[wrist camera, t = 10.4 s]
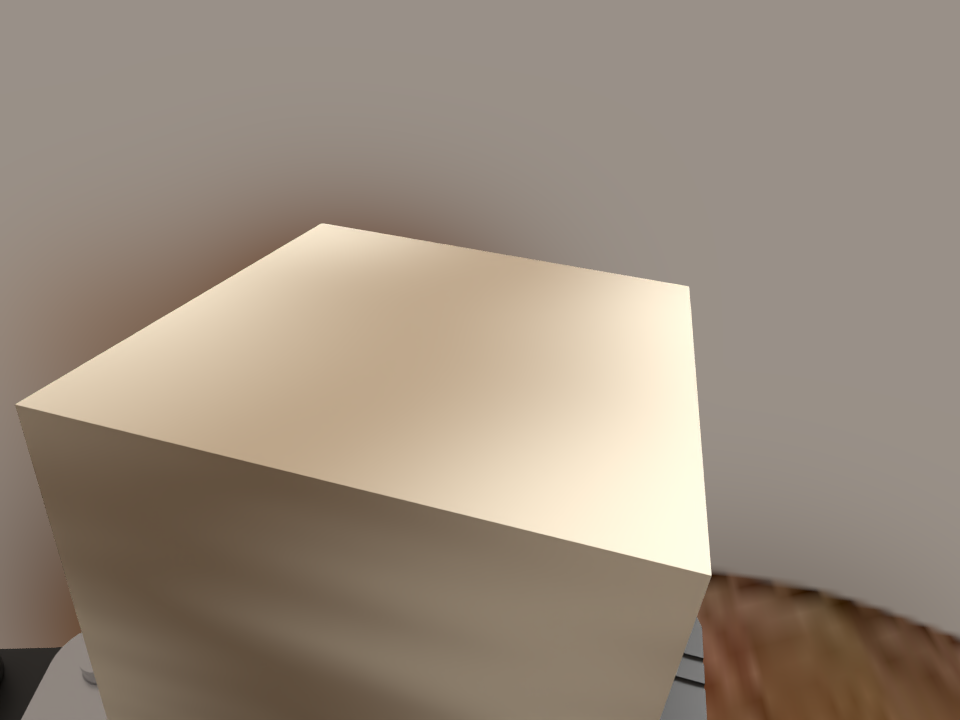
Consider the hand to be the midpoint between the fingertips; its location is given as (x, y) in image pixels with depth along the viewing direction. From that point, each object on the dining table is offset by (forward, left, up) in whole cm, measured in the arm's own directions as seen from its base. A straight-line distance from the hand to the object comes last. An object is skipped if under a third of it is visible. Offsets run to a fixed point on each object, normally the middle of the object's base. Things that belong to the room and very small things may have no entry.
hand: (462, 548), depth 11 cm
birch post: (+1, +2, -7) cm, 8 cm away
